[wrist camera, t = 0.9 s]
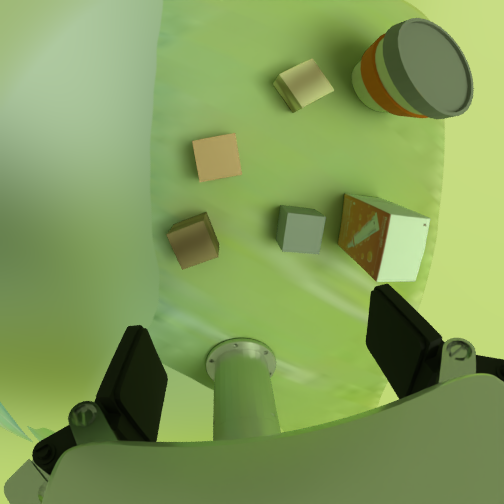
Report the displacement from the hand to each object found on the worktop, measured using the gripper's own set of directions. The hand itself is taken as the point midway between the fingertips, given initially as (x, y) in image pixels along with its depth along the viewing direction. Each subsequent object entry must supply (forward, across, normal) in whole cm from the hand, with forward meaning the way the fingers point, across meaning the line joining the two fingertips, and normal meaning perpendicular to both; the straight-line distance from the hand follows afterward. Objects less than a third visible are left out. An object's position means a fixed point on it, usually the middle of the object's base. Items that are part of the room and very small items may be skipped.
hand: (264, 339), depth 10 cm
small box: (+29, -18, +5) cm, 34 cm away
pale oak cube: (+28, -10, -15) cm, 34 cm away
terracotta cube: (+28, +2, -7) cm, 29 cm away
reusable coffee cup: (+29, -23, -16) cm, 40 cm away
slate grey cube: (+28, -8, +4) cm, 30 cm away
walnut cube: (+28, +6, +3) cm, 29 cm away
